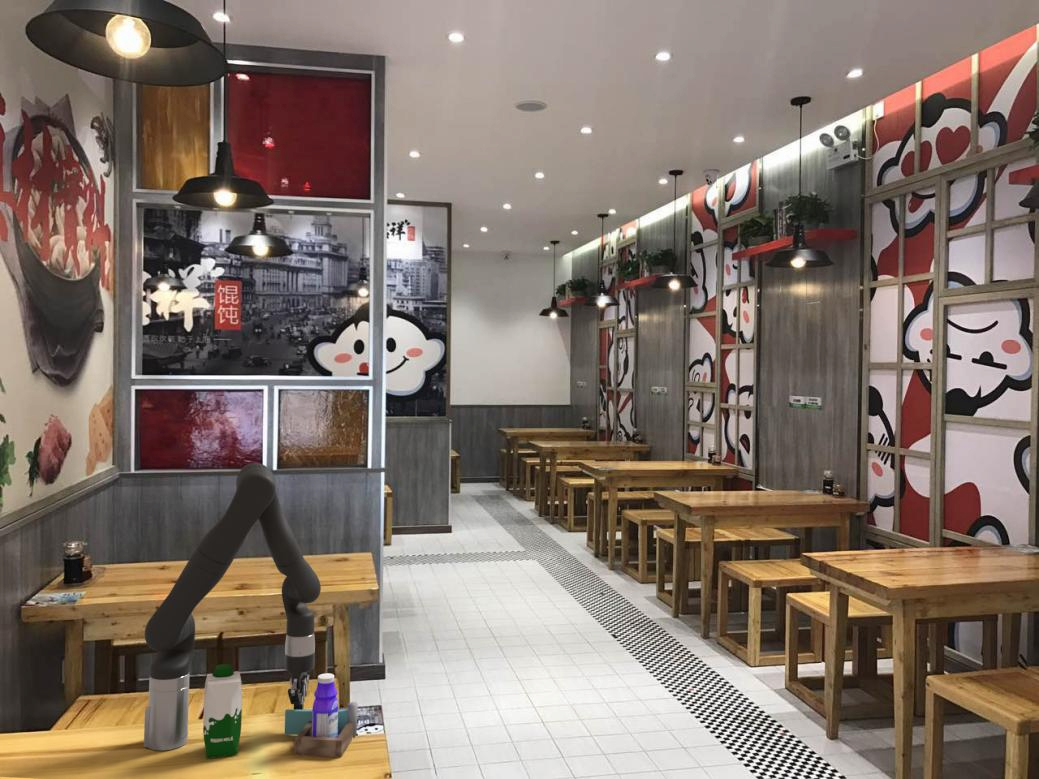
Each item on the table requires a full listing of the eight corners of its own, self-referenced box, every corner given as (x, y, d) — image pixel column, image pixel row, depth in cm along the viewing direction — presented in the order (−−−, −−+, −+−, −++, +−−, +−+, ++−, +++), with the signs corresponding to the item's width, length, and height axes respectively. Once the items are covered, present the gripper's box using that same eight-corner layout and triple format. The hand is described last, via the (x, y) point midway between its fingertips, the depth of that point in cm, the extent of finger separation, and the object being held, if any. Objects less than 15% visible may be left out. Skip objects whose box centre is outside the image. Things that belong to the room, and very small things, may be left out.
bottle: (329, 752, 201) (331, 681, 201) (307, 750, 202) (309, 679, 202) (341, 740, 208) (342, 671, 209) (320, 738, 209) (321, 670, 210)
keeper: (283, 736, 209) (284, 705, 209) (286, 733, 212) (286, 702, 212) (355, 737, 210) (356, 705, 210) (357, 733, 213) (358, 702, 213)
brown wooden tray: (294, 755, 199) (295, 738, 199) (308, 736, 210) (309, 721, 210) (341, 757, 199) (341, 740, 199) (352, 738, 210) (353, 723, 210)
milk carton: (239, 741, 206) (241, 661, 207) (241, 756, 198) (243, 673, 198) (202, 746, 203) (204, 665, 203) (202, 761, 195) (204, 676, 195)
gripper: (307, 659, 207) (306, 728, 207) (320, 643, 220) (318, 708, 220) (278, 658, 207) (276, 727, 207) (292, 643, 220) (290, 707, 220)
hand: (298, 717), depth 214 cm, fingers closed
